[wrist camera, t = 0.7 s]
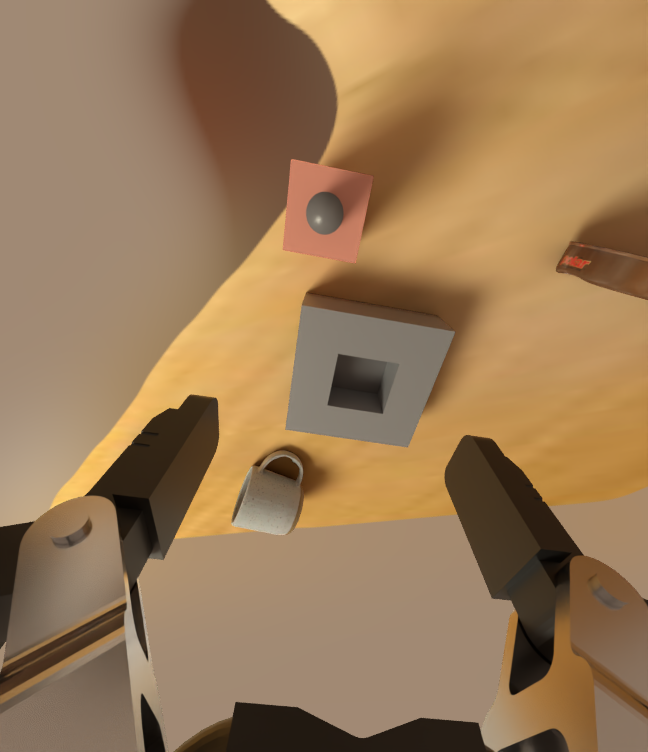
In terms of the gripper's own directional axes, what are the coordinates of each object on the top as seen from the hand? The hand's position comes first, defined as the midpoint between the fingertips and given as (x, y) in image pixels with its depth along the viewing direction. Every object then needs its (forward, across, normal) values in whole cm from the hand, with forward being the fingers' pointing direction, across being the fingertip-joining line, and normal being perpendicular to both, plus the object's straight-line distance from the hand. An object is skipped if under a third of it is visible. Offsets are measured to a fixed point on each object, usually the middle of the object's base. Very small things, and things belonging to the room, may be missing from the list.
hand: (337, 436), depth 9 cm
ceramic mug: (+22, +4, +28) cm, 36 cm away
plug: (+23, +2, -6) cm, 23 cm away
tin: (+23, -26, -6) cm, 35 cm away
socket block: (+22, -4, +8) cm, 24 cm away
